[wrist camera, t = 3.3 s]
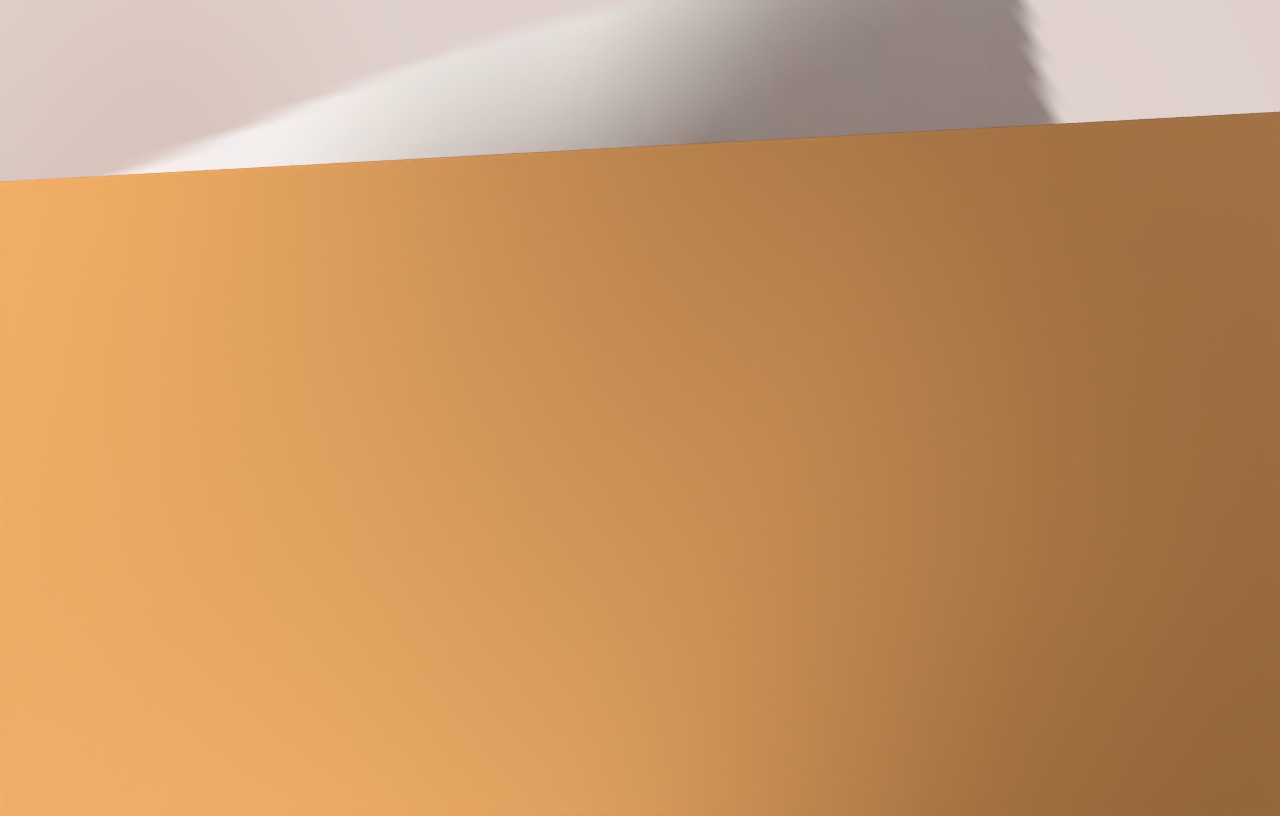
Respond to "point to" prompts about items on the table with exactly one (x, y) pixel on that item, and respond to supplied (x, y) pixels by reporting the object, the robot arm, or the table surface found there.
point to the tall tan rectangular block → (651, 481)
